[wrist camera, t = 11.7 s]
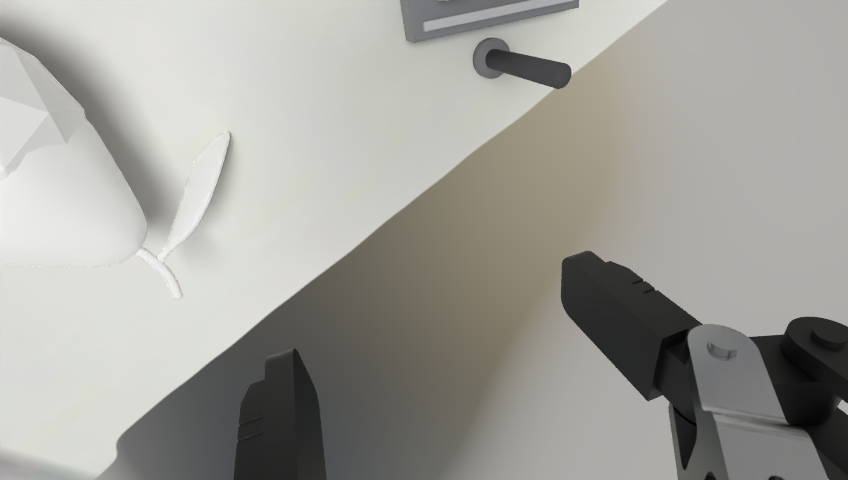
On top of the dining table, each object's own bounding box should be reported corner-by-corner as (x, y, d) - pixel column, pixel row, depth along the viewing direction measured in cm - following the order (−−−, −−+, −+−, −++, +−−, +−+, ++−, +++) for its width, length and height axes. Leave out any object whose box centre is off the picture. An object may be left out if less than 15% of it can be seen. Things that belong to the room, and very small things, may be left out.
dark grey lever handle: (477, 34, 43) (547, 46, 32) (509, 40, 45) (588, 53, 34) (469, 74, 45) (534, 98, 34) (500, 79, 46) (572, 103, 35)
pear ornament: (-656, 100, 14) (147, 391, 30) (-75, -181, 22) (310, 161, 38) (-324, 163, 26) (120, 346, 42) (-29, -35, 35) (248, 179, 50)
